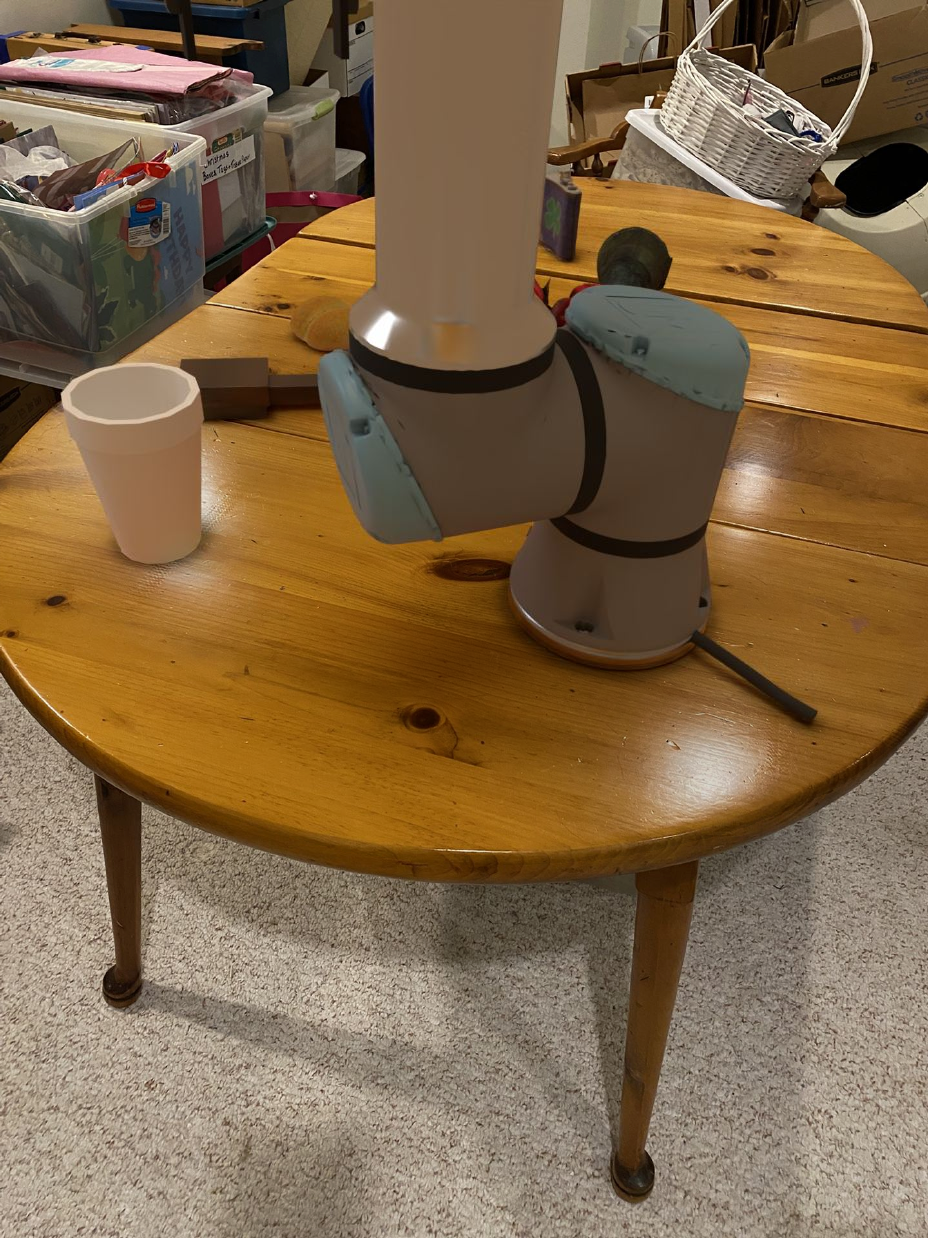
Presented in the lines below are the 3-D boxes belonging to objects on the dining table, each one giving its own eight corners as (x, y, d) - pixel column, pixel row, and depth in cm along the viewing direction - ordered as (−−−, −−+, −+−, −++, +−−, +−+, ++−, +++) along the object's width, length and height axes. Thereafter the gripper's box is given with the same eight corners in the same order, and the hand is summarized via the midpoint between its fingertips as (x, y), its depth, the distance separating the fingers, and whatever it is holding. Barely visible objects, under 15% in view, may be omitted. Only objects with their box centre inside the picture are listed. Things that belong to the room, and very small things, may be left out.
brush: (367, 387, 96) (366, 355, 93) (372, 416, 91) (371, 383, 89) (186, 392, 93) (181, 358, 91) (181, 422, 88) (176, 387, 86)
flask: (534, 239, 133) (542, 159, 126) (552, 238, 134) (562, 158, 127) (561, 262, 126) (571, 179, 119) (580, 261, 127) (592, 178, 120)
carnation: (606, 356, 122) (562, 476, 95) (512, 247, 117) (438, 341, 90) (704, 276, 113) (686, 384, 86) (607, 154, 108) (556, 228, 81)
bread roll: (325, 360, 100) (323, 324, 97) (280, 331, 105) (278, 296, 102) (386, 342, 104) (386, 307, 102) (340, 315, 109) (339, 281, 107)
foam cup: (230, 563, 72) (208, 414, 64) (106, 586, 69) (66, 433, 61) (208, 499, 79) (186, 355, 70) (94, 517, 76) (57, 370, 67)
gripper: (388, -254, 75) (388, 47, 89) (63, -285, 68) (118, 50, 82) (417, -257, 70) (413, 63, 84) (69, -291, 63) (127, 67, 76)
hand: (268, 57), depth 83 cm, fingers open, 13 cm apart
